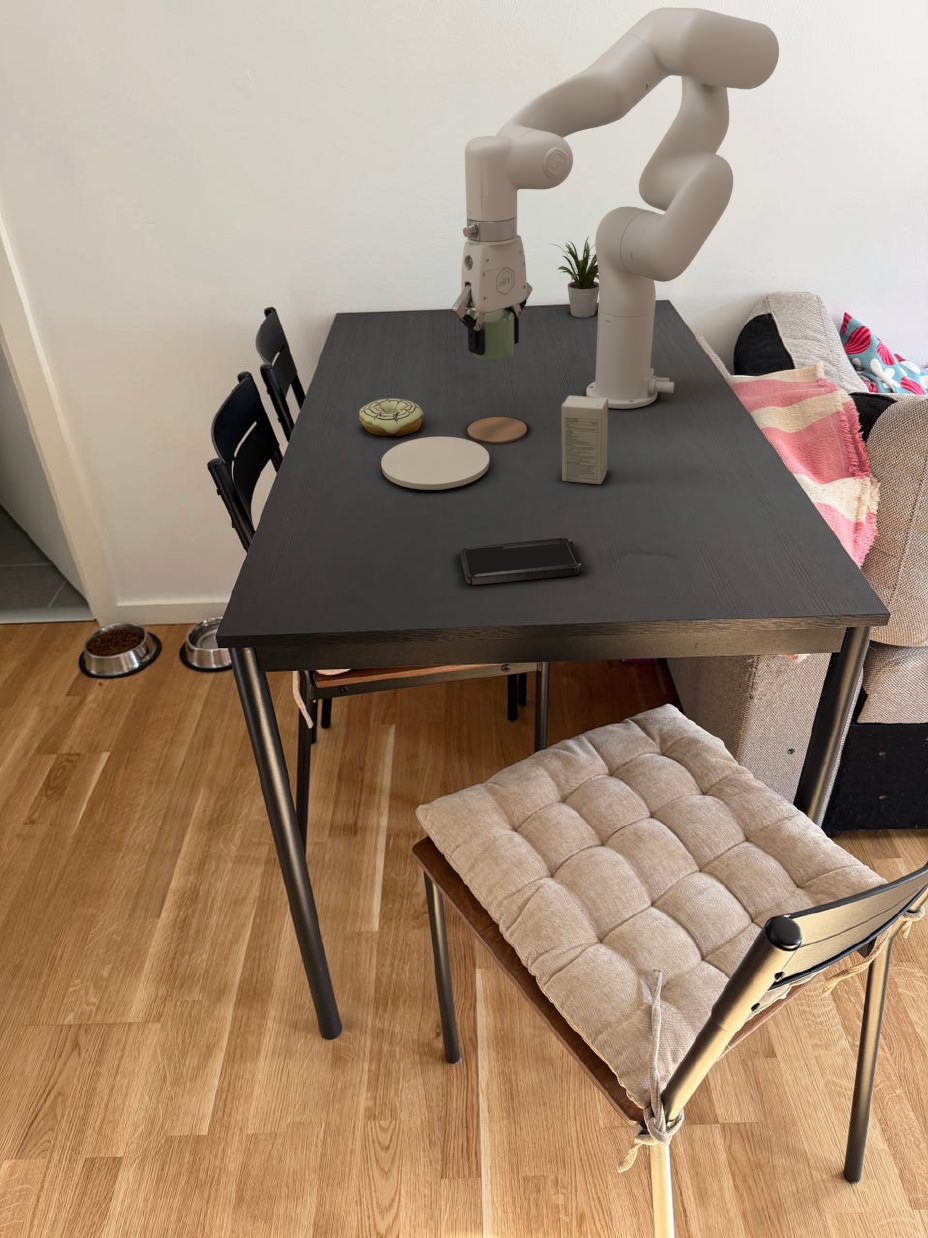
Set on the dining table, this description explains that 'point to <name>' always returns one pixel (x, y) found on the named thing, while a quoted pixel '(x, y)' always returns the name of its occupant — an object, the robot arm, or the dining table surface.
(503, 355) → the sage green cylinder
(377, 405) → the decorated donut
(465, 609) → the dining table surface
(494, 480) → the dining table surface
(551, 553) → the phone
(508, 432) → the coaster
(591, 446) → the cosmetic box
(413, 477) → the plate
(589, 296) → the house plant
